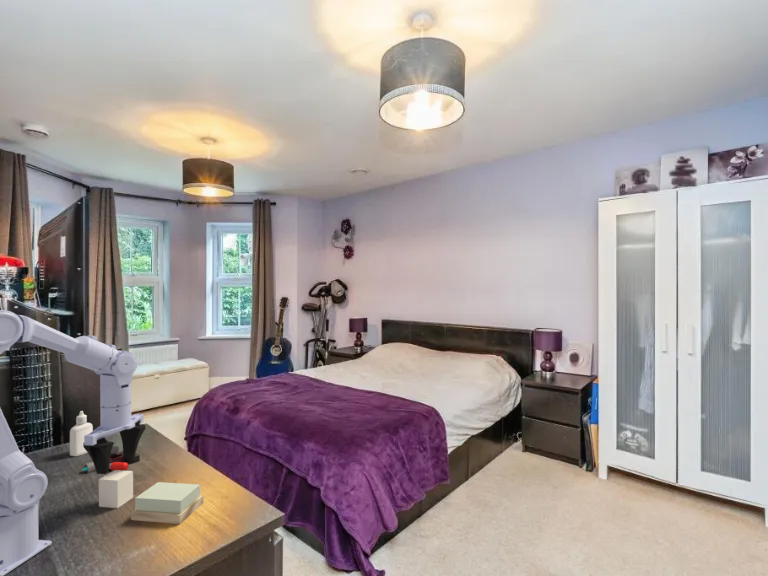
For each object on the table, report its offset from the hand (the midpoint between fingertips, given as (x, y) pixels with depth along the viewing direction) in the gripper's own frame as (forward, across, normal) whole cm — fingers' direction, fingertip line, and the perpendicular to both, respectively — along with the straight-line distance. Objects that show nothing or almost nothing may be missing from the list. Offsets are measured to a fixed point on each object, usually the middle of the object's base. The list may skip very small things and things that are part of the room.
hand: (116, 465), depth 90 cm
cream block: (+8, 0, 0) cm, 8 cm away
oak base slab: (+9, -2, -14) cm, 17 cm away
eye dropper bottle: (+8, +23, +31) cm, 39 cm away
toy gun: (+9, +15, +14) cm, 23 cm away
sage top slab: (+6, -2, -14) cm, 15 cm away
